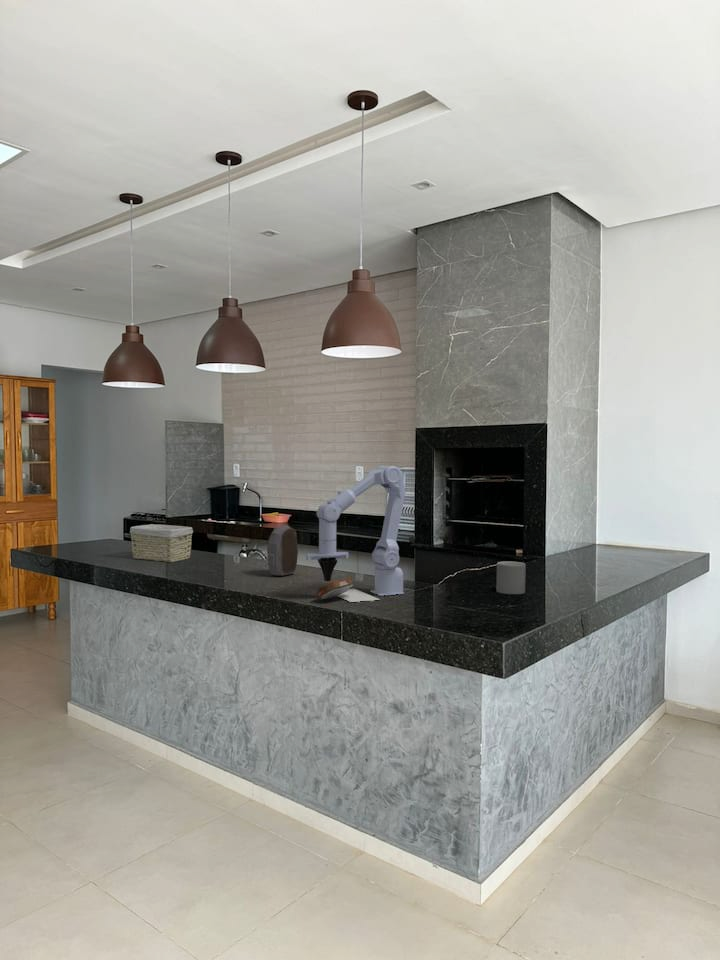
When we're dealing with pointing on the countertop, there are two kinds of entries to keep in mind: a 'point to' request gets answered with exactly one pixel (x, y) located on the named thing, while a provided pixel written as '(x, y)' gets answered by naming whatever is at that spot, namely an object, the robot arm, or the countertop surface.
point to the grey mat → (356, 596)
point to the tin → (335, 588)
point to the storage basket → (161, 542)
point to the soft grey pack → (282, 551)
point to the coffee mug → (510, 577)
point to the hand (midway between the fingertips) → (327, 580)
